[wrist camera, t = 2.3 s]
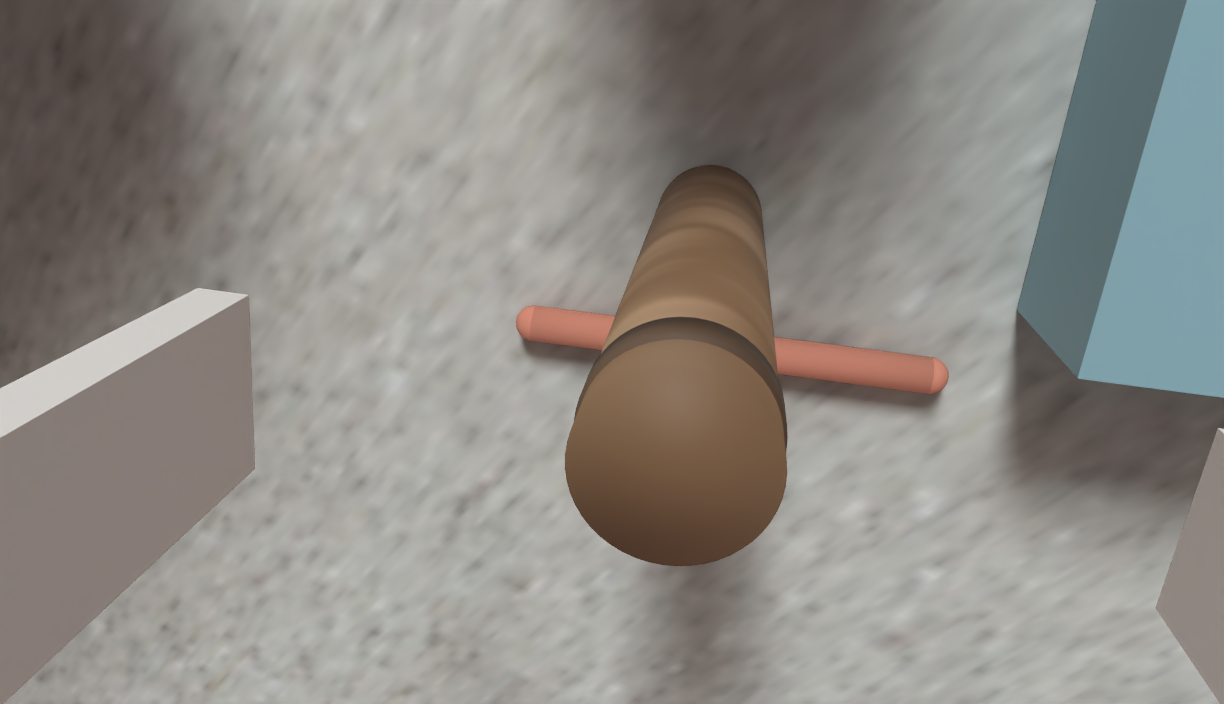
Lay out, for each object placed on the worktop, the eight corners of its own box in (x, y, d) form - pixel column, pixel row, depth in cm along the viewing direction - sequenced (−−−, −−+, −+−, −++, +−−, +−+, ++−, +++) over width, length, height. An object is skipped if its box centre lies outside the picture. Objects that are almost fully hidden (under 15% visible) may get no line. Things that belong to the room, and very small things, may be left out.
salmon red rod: (519, 331, 28) (511, 343, 27) (521, 298, 28) (513, 309, 27) (940, 387, 27) (947, 402, 26) (948, 354, 27) (955, 367, 26)
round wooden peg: (650, 262, 27) (553, 551, 13) (662, 157, 26) (570, 347, 12) (755, 275, 27) (771, 584, 13) (771, 170, 26) (809, 379, 12)
